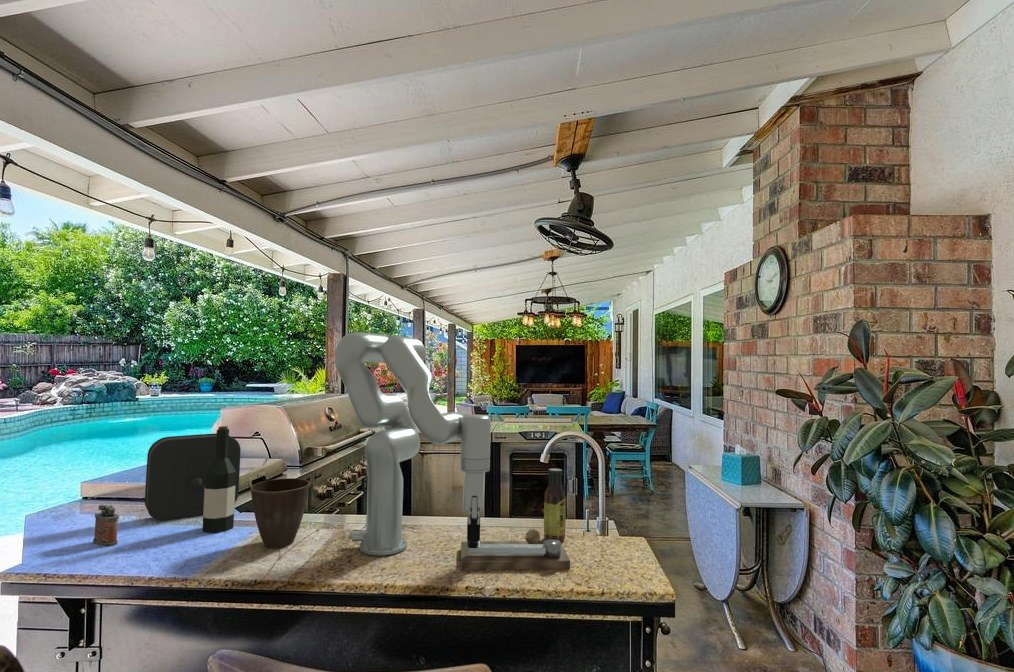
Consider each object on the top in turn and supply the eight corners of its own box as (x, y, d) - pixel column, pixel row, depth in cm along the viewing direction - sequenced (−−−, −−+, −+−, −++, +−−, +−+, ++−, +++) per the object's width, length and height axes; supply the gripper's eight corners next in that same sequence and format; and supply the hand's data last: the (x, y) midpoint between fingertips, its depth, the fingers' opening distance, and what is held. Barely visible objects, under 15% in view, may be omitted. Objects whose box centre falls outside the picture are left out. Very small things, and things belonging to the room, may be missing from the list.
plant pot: (284, 556, 127) (287, 493, 128) (234, 550, 131) (237, 489, 132) (318, 537, 142) (320, 480, 143) (273, 532, 145) (275, 476, 146)
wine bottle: (239, 527, 149) (244, 426, 150) (210, 535, 142) (216, 429, 143) (224, 522, 153) (229, 424, 155) (195, 529, 146) (201, 427, 148)
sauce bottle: (564, 543, 140) (565, 472, 141) (542, 541, 142) (543, 471, 143) (566, 536, 147) (567, 468, 148) (545, 534, 148) (546, 466, 149)
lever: (559, 551, 128) (559, 513, 129) (562, 557, 124) (562, 518, 124) (467, 551, 127) (467, 513, 128) (466, 557, 123) (467, 518, 123)
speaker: (232, 504, 172) (236, 431, 173) (238, 510, 165) (242, 434, 167) (143, 518, 155) (148, 437, 157) (146, 525, 149) (151, 441, 150)
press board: (460, 570, 121) (461, 545, 121) (461, 549, 135) (461, 526, 135) (570, 568, 123) (570, 544, 124) (559, 547, 137) (559, 525, 137)
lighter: (120, 543, 134) (123, 506, 135) (106, 547, 131) (108, 509, 132) (104, 538, 138) (106, 502, 138) (89, 542, 135) (91, 505, 135)
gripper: (461, 457, 134) (459, 526, 133) (459, 471, 118) (457, 550, 117) (488, 457, 135) (487, 526, 134) (491, 471, 118) (489, 549, 117)
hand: (473, 536), depth 125 cm, fingers closed on lever, 3 cm apart
